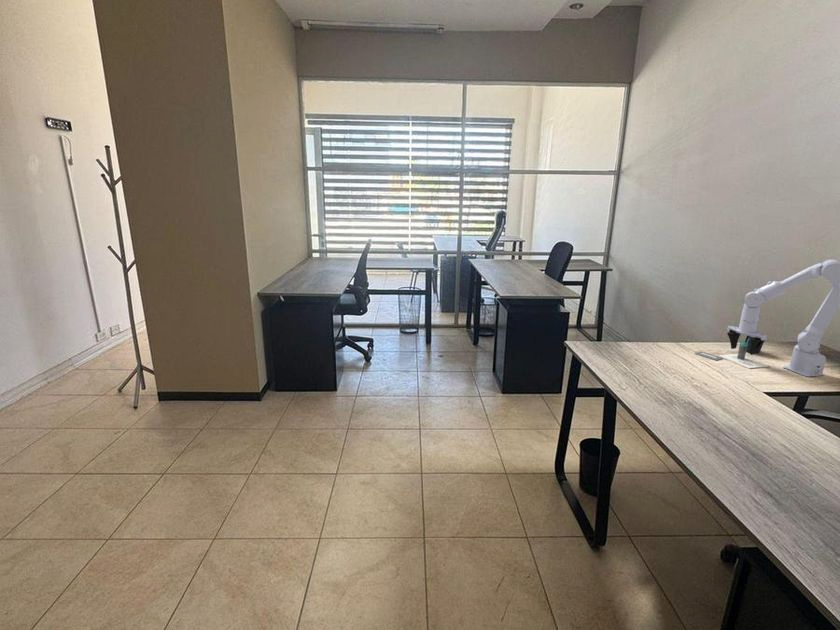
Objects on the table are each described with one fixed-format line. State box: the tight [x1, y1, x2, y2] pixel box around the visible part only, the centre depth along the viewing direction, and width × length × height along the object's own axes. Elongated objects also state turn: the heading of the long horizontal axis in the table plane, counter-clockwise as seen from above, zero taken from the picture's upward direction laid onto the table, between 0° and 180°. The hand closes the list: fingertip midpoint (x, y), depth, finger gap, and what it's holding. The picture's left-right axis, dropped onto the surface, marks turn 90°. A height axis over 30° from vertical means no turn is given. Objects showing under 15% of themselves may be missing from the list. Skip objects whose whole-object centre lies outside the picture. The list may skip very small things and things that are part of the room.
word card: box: [694, 351, 724, 361], centre depth 181 cm, size 9×5×1 cm, turn 26°
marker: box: [737, 341, 748, 360], centre depth 176 cm, size 3×3×7 cm
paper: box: [718, 353, 770, 370], centre depth 175 cm, size 14×10×1 cm
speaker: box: [744, 335, 765, 355], centre depth 185 cm, size 8×6×10 cm
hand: (742, 351), depth 176 cm, fingers open, 7 cm apart
